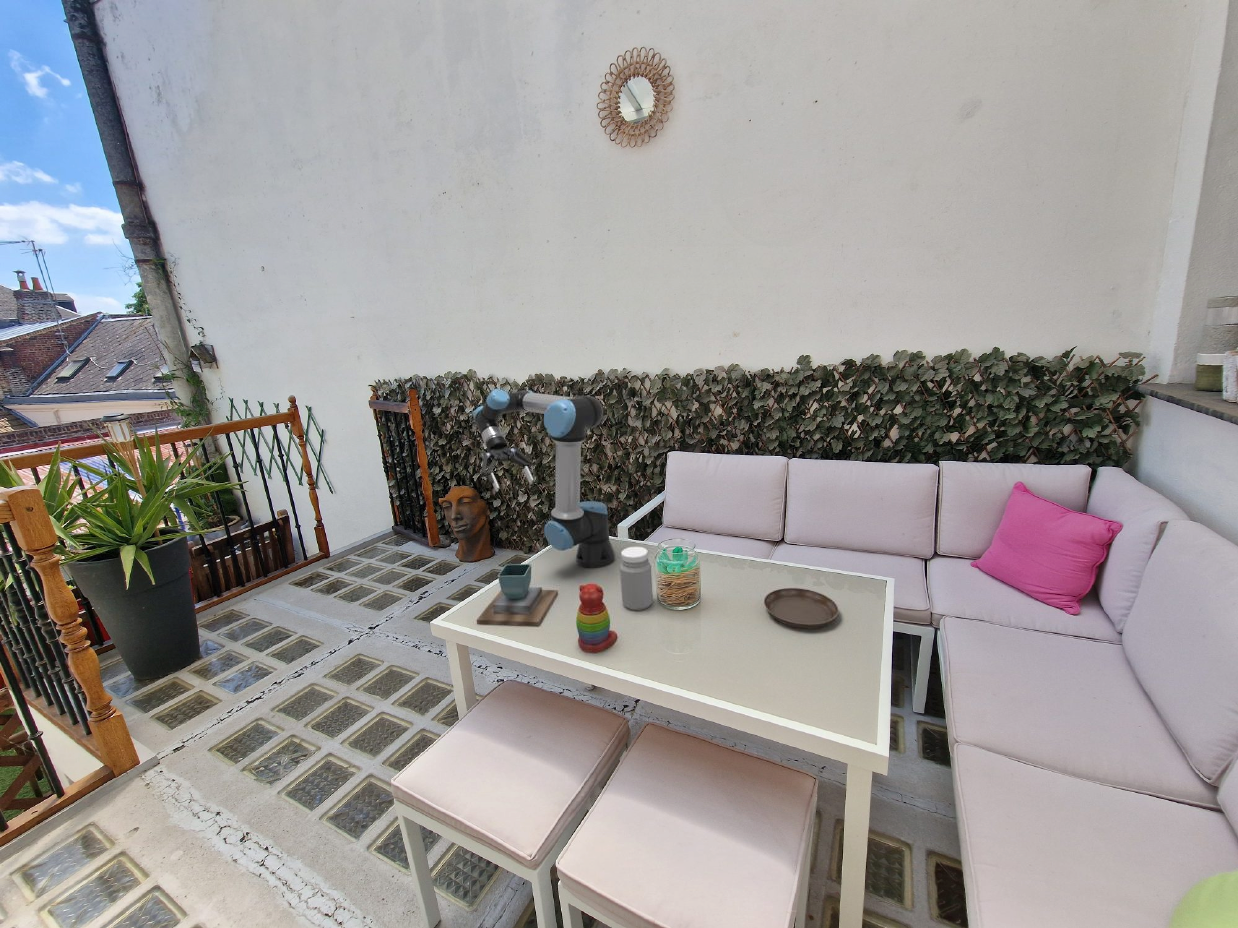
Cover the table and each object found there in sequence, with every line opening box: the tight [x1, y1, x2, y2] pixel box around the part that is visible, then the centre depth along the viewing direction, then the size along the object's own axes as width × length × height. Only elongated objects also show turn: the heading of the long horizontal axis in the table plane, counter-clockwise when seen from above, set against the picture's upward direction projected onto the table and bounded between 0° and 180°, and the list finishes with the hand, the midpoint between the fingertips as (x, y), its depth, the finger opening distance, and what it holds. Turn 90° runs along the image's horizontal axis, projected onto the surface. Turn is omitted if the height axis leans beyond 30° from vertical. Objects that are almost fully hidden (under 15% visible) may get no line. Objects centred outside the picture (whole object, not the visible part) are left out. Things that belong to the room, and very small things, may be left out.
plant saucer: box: [763, 587, 839, 630], centre depth 149 cm, size 21×21×3 cm
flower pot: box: [497, 563, 532, 599], centre depth 162 cm, size 9×9×9 cm
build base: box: [476, 586, 559, 627], centre depth 163 cm, size 20×20×4 cm
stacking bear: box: [575, 583, 618, 653], centre depth 140 cm, size 11×10×18 cm
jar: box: [619, 546, 654, 611], centre depth 159 cm, size 10×10×18 cm
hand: (515, 485), depth 186 cm, fingers open, 13 cm apart
